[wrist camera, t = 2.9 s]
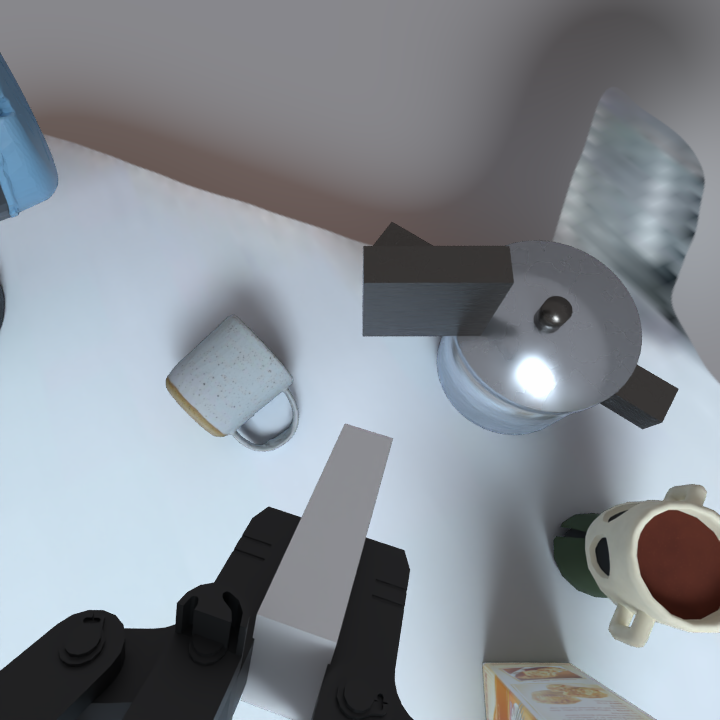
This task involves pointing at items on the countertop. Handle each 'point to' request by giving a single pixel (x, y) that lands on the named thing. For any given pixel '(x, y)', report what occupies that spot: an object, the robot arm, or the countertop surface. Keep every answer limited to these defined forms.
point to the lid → (512, 317)
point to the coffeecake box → (551, 694)
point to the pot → (633, 402)
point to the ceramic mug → (231, 382)
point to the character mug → (648, 563)
